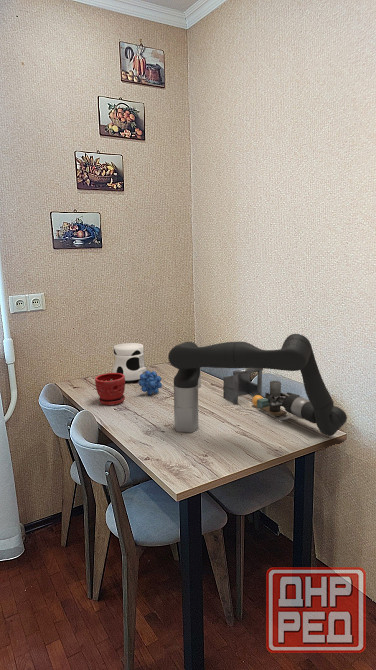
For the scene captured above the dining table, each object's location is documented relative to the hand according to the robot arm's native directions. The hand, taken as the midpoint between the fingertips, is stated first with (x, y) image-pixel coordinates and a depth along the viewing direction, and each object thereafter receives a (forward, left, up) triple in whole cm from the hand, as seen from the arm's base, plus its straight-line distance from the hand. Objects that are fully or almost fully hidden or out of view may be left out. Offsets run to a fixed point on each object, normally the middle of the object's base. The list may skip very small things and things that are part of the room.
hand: (270, 394), depth 187 cm
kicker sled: (-1, 0, -7) cm, 7 cm away
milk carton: (+30, +37, -8) cm, 49 cm away
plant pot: (+5, +70, -8) cm, 71 cm away
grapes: (+16, +54, -8) cm, 57 cm away
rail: (-2, -2, -8) cm, 9 cm away
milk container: (+40, +71, -8) cm, 82 cm away
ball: (+7, +5, -6) cm, 10 cm away
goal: (+17, +12, -8) cm, 22 cm away
